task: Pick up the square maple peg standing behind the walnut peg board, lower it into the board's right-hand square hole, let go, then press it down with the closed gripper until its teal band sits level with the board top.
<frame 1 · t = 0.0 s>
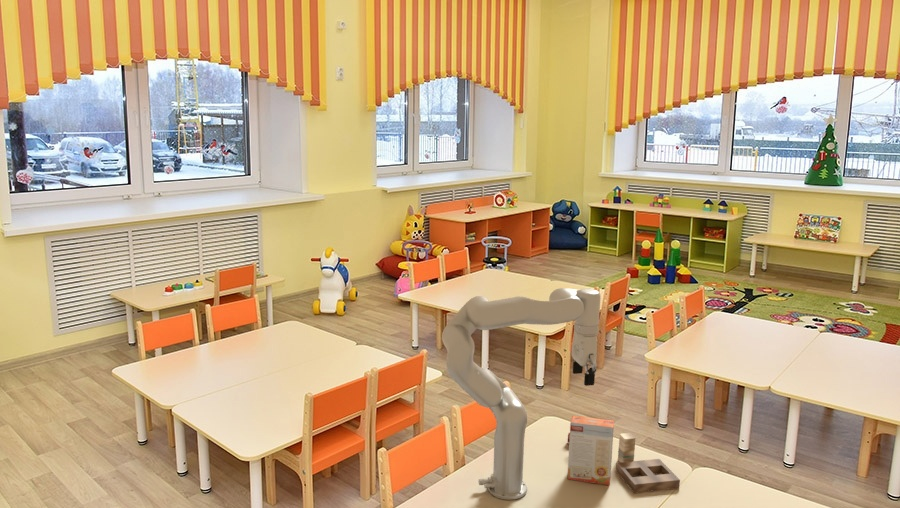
hand: (583, 379, 226), 37 cm above the table, tool pointing down, fingers open, 9 cm apart
cracker box: (588, 478, 237), on the table
toy fire truck: (578, 450, 256), on the table
peg: (625, 462, 248), on the table
peg board: (646, 479, 237), on the table
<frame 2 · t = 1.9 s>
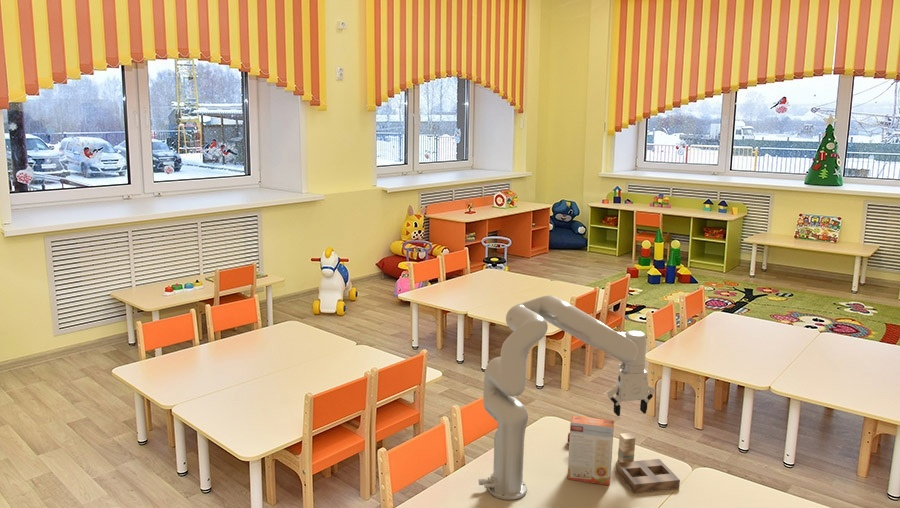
hand: (630, 413, 244), 18 cm above the table, tool pointing down, fingers open, 9 cm apart
nothing on the table moved.
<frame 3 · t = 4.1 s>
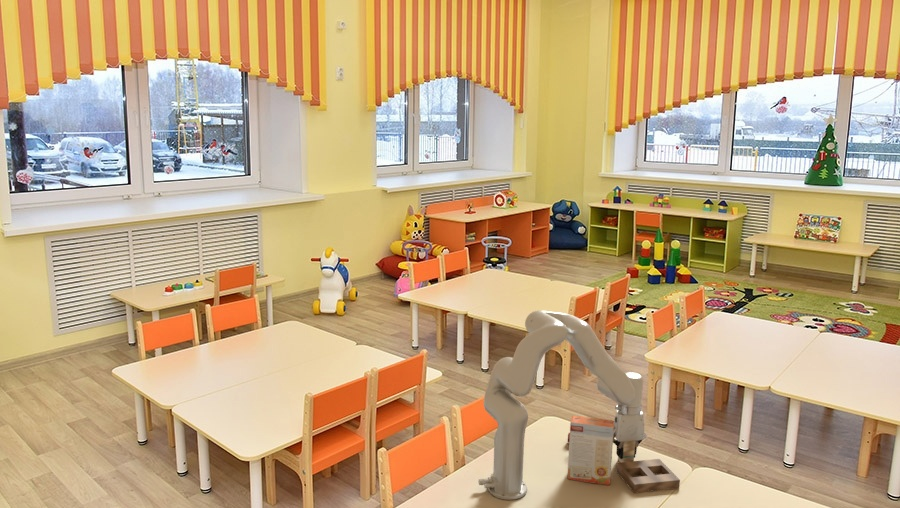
hand: (626, 455, 248), 2 cm above the table, tool pointing down, fingers closed on peg, 4 cm apart
peg: (625, 462, 248), on the table, touching gripper
everything else where it was.
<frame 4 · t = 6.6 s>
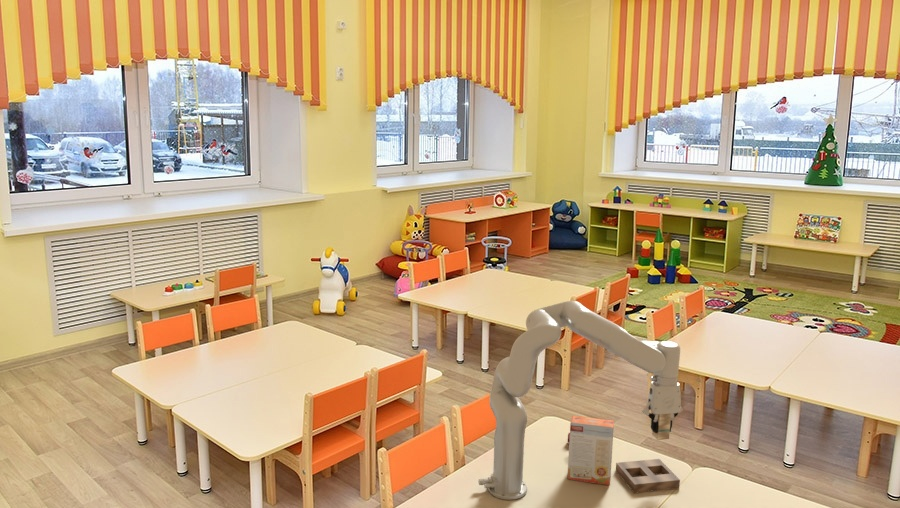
hand: (661, 430, 234), 17 cm above the table, tool pointing down, fingers closed on peg, 4 cm apart
peg: (660, 436, 235), point 15 cm above the table, touching gripper
everything else where it was.
when the fingers open (4 cm above the table, at t = 9.2 s): peg drops 2 cm, resting in peg board.
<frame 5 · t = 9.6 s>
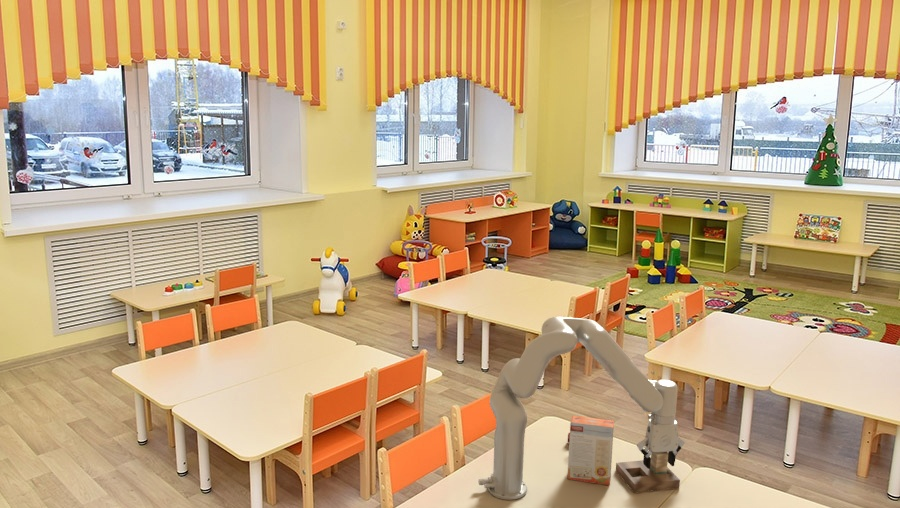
hand: (658, 465, 237), 5 cm above the table, tool pointing down, fingers open, 8 cm apart
peg: (657, 478, 238), resting in peg board
everything else where it was.
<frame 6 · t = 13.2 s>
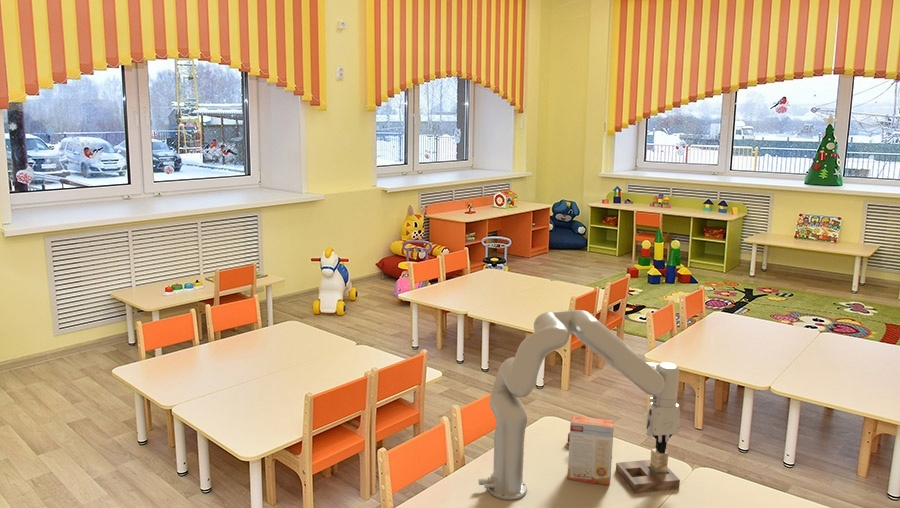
hand: (660, 451, 236), 10 cm above the table, tool pointing down, fingers closed
peg: (657, 478, 238), resting in peg board, touching gripper
everything else where it was.
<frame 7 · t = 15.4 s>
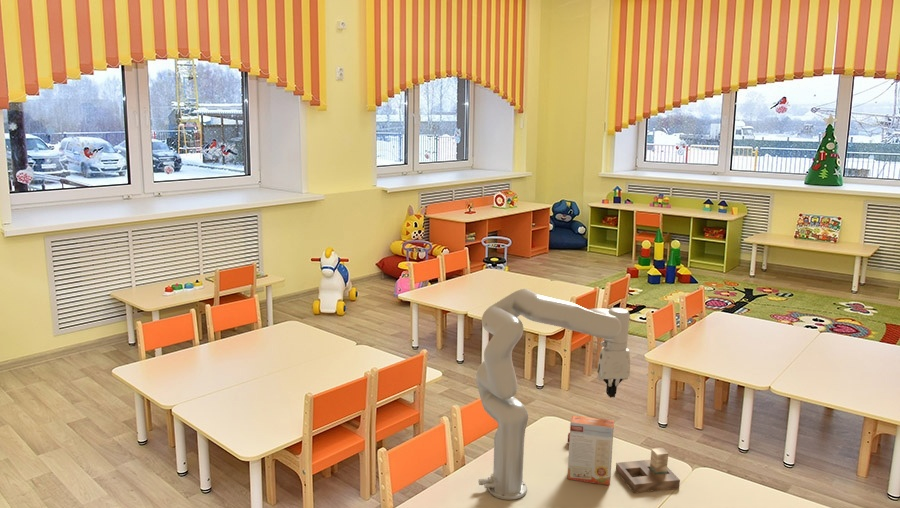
hand: (610, 395, 240), 26 cm above the table, tool pointing down, fingers closed
peg: (657, 478, 238), resting in peg board
everything else where it was.
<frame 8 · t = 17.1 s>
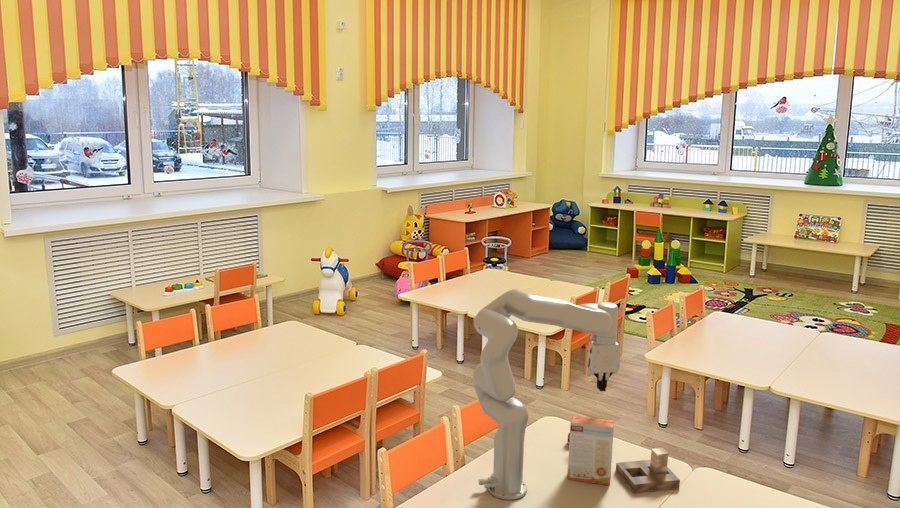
hand: (601, 389, 242), 27 cm above the table, tool pointing down, fingers closed
nothing on the table moved.
at the end: peg 0.1 cm from the target spot on the peg board, point 0.0 cm above the peg board's base; peg tilted 0°; the gripper is holding nothing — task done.
